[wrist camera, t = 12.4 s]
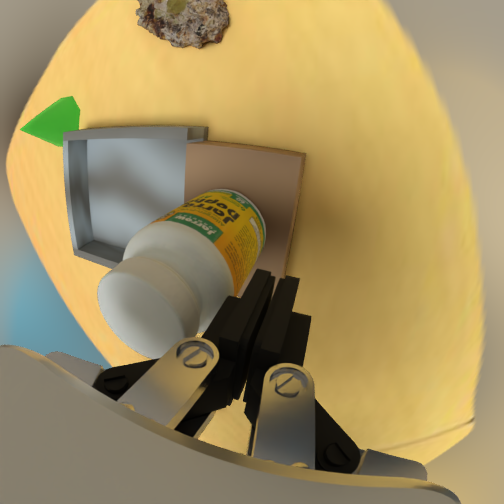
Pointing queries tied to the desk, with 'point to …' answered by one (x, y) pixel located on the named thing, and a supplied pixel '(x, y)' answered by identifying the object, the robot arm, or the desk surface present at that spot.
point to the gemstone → (55, 121)
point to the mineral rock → (184, 20)
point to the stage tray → (171, 186)
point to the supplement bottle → (182, 271)
